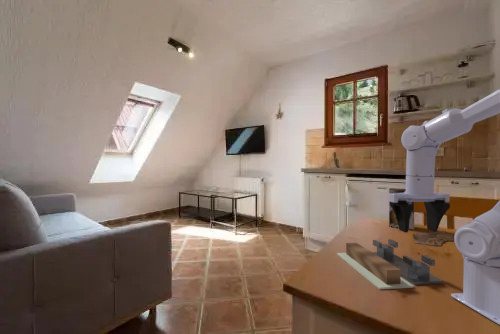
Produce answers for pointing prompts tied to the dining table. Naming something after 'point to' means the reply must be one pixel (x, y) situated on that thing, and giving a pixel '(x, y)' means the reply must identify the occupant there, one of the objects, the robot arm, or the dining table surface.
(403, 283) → the mat
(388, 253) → the rack
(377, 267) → the rail
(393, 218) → the coffee box
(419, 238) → the wooden fragment
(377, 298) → the dining table surface
